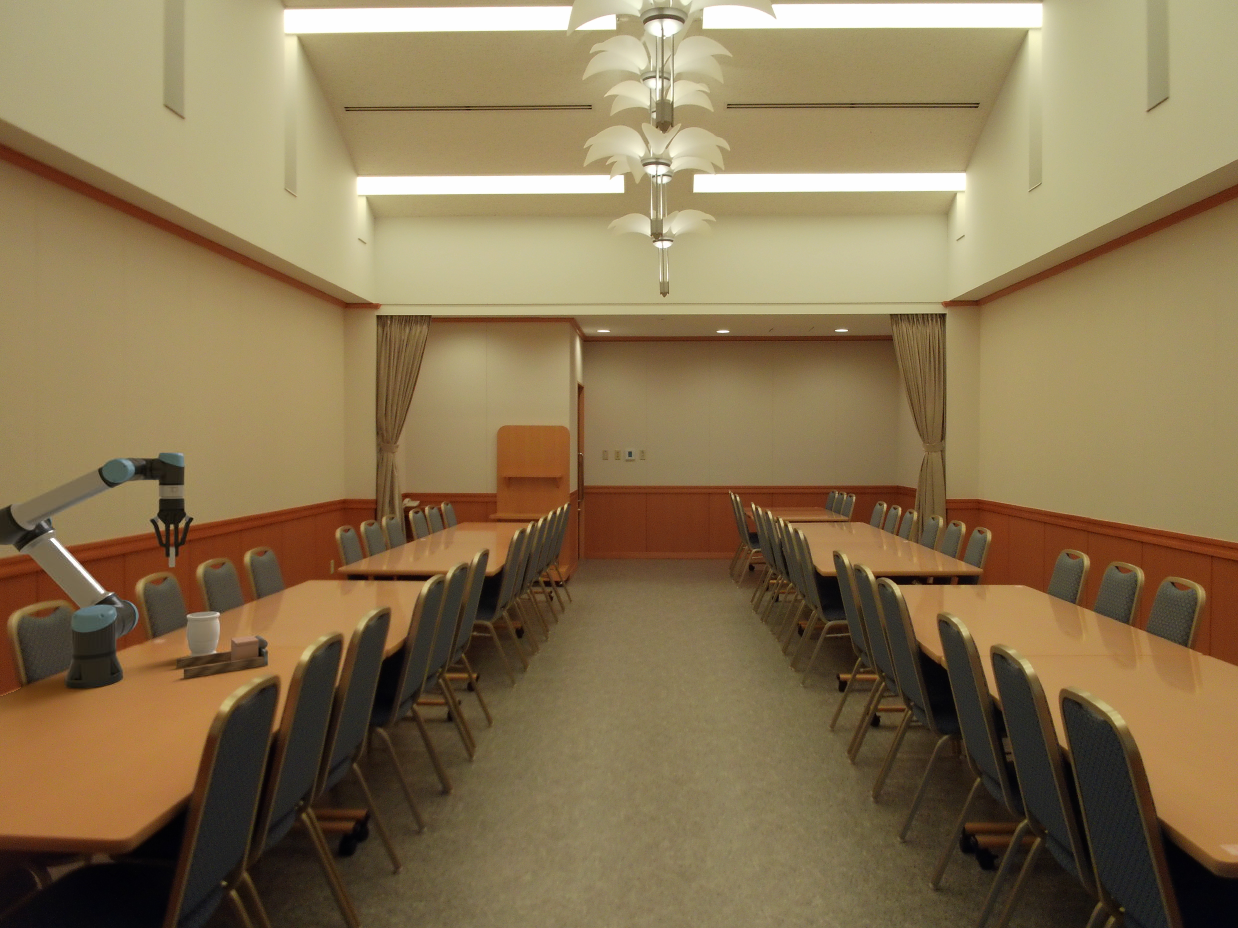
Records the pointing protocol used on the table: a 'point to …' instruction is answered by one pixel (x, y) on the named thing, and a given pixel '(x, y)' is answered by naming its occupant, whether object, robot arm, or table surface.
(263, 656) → the bay
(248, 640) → the pink block
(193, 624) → the jar
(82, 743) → the table surface
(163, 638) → the table surface
